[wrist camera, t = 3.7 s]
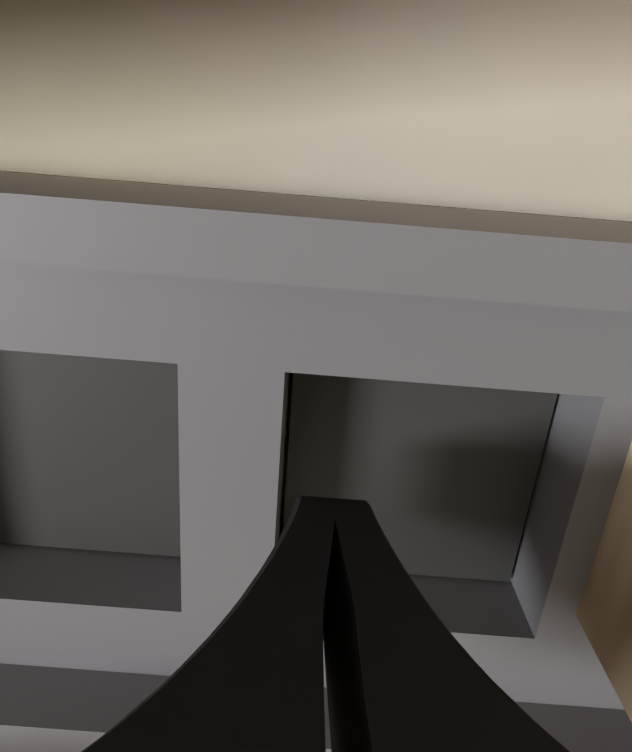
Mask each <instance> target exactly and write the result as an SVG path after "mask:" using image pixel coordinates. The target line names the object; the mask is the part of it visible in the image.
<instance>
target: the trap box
mask: <svg viewBox="0 0 632 752" xmlns="http://www.w3.org/2000/svg"><path fill="white" fill-rule="evenodd" d="M289 373H293V385H292V401H291V416H290V431H289V446H288V462H287V477H286V492H285V508H284V523H283V530H284V528H285V526H286V524H287V521H288V519H289V517H290V515H291V512H292V509H293V506H294V502H295V500H296V499H297V498H299V497H300V496H314V497H327V498H340V499H353V500H366V501H367V502H368V503H369V505H370V506H371V508H372V510H373V512H374V514H375V516H376V519H377V521H378V523H379V525H380V527H381V528H382V530H383V532H384V534H385V536H386V538H387V540H388V541H389V543H390V545H391V547H392V548H393V550H394V552H395V553H396V555H397V557H398V558H399V560H400V562H401V563H402V565H403V566H404V568H405V569H406V571H407V573H408V574H409V576H410V577H411V579H412V581H413V582H414V584H415V585H416V586H417V588H418V589H419V591H420V592H421V594H422V595H423V597H424V598H425V599H426V601H427V602H428V603H429V605H430V606H431V608H432V609H433V610H434V612H435V613H436V614H437V616H438V617H439V618H440V620H441V621H442V622H443V624H444V625H445V626H446V627H447V629H448V630H449V631H450V632H451V634H452V635H453V636H454V637H455V639H456V640H457V641H458V642H459V643H460V644H461V646H462V647H463V648H464V649H465V650H466V651H467V653H468V654H469V655H470V656H471V657H472V658H473V659H474V661H475V662H476V663H477V664H478V665H479V666H480V667H481V668H482V669H483V670H484V671H485V673H486V674H487V675H488V676H489V677H490V678H491V679H492V680H493V681H494V682H495V683H496V684H497V685H498V686H499V687H500V688H501V689H502V690H503V691H504V692H505V693H506V694H507V695H508V696H509V697H510V698H511V699H512V700H514V701H515V702H516V703H517V704H518V705H519V706H520V707H521V708H522V709H523V710H524V711H525V712H526V713H527V714H528V715H529V716H530V717H531V718H532V719H533V720H534V721H535V722H536V723H538V724H539V725H540V726H541V727H542V728H543V729H544V730H545V731H546V732H547V733H549V734H550V735H551V736H552V737H553V738H555V739H556V740H557V741H558V742H559V743H560V744H562V745H563V746H564V747H565V748H566V749H567V750H569V751H570V752H632V722H631V720H630V719H629V717H628V715H627V713H626V711H625V709H624V707H623V705H622V703H621V701H620V699H619V697H618V696H617V694H616V692H615V690H614V688H613V686H612V684H611V682H610V680H609V678H608V676H607V674H606V673H605V671H604V669H603V667H602V665H601V663H600V661H599V659H598V657H597V655H596V653H595V651H594V649H593V648H592V646H591V644H590V642H589V640H588V638H587V636H586V634H585V632H584V630H583V628H582V626H581V625H580V623H579V621H578V619H577V617H576V614H577V611H578V608H579V605H580V601H581V598H582V595H583V592H584V589H585V586H586V583H587V580H588V576H589V573H590V570H591V567H592V564H593V561H594V558H595V554H596V551H597V548H598V545H599V542H600V539H601V536H602V533H603V529H604V526H605V523H606V520H607V517H608V514H609V511H610V508H611V504H612V501H613V498H614V495H615V492H616V489H617V486H618V483H619V479H620V476H621V473H622V470H623V467H624V464H625V461H626V457H627V454H628V451H629V448H630V445H631V442H632V222H625V221H612V220H600V219H588V218H575V217H563V216H551V215H538V214H526V213H514V212H501V211H489V210H476V209H464V208H452V207H439V206H427V205H415V204H402V203H390V202H378V201H365V200H353V199H340V198H328V197H316V196H303V195H291V194H279V193H266V192H254V191H241V190H229V189H217V188H204V187H192V186H180V185H167V184H155V183H143V182H130V181H118V180H105V179H93V178H81V177H68V176H56V175H44V174H31V173H19V172H7V171H0V752H81V751H83V750H84V749H85V748H87V747H88V746H89V745H91V744H92V743H93V742H95V741H96V740H97V739H99V738H100V737H101V736H102V735H104V734H105V733H106V732H107V731H109V730H110V729H111V728H112V727H114V726H115V725H116V724H117V723H118V722H119V721H121V720H122V719H123V718H124V717H125V716H126V715H127V714H129V713H130V712H131V711H132V710H133V709H134V708H135V707H137V706H138V705H139V704H140V703H141V702H142V701H143V700H145V699H146V698H147V697H148V696H149V695H150V694H151V693H153V692H154V691H155V690H156V689H157V688H158V687H159V686H161V685H162V684H163V683H164V682H165V681H166V680H167V679H168V678H169V677H170V676H171V675H172V674H173V673H174V672H175V671H176V670H177V669H178V668H179V667H180V666H181V665H182V664H183V663H184V662H185V661H186V660H187V659H188V658H189V657H190V656H191V655H192V654H193V653H194V652H195V650H196V649H197V648H198V647H199V646H200V645H201V644H202V643H203V642H204V641H205V640H206V639H207V638H208V637H209V636H210V634H211V633H212V632H213V631H214V630H215V629H216V627H217V626H218V625H219V624H220V623H221V622H222V620H223V619H224V618H225V617H226V615H227V614H228V613H229V612H230V611H231V609H232V608H233V607H234V605H235V604H236V603H237V602H238V600H239V599H240V598H241V596H242V595H243V593H244V592H245V591H246V589H247V588H248V586H249V585H250V583H251V582H252V581H253V579H254V578H255V576H256V575H257V574H258V572H259V571H260V569H261V568H262V566H263V565H264V563H265V561H266V560H267V558H268V556H269V555H270V553H271V551H272V550H273V548H274V546H275V544H276V543H277V541H278V539H279V529H280V513H281V497H282V481H283V465H284V449H285V433H286V417H287V401H288V385H289ZM323 663H324V712H325V746H326V752H331V740H330V726H329V712H328V699H327V685H326V671H325V656H324V641H323Z"/></svg>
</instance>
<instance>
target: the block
mask: <svg viewBox="0 0 632 752" xmlns="http://www.w3.org/2000/svg"><path fill="white" fill-rule="evenodd" d="M576 617H577V619H578V621H579V623H580V625H581V626H582V628H583V630H584V632H585V634H586V636H587V638H588V640H589V642H590V644H591V646H592V648H593V649H594V651H595V653H596V655H597V657H598V659H599V661H600V663H601V665H602V667H603V669H604V671H605V673H606V674H607V676H608V678H609V680H610V682H611V684H612V686H613V688H614V690H615V692H616V694H617V696H618V697H619V699H620V701H621V703H622V705H623V707H624V709H625V711H626V713H627V715H628V717H629V719H630V720H631V722H632V442H631V445H630V448H629V451H628V454H627V457H626V461H625V464H624V467H623V470H622V473H621V476H620V479H619V483H618V486H617V489H616V492H615V495H614V498H613V501H612V504H611V508H610V511H609V514H608V517H607V520H606V523H605V526H604V529H603V533H602V536H601V539H600V542H599V545H598V548H597V551H596V554H595V558H594V561H593V564H592V567H591V570H590V573H589V576H588V580H587V583H586V586H585V589H584V592H583V595H582V598H581V601H580V605H579V608H578V611H577V614H576Z"/></svg>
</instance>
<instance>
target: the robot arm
mask: <svg viewBox="0 0 632 752" xmlns="http://www.w3.org/2000/svg"><path fill="white" fill-rule="evenodd" d="M323 641H324V656H325V671H326V685H327V699H328V712H329V726H330V740H331V752H570V751H569V750H567V749H566V748H565V747H564V746H563V745H562V744H560V743H559V742H558V741H557V740H556V739H555V738H553V737H552V736H551V735H550V734H549V733H547V732H546V731H545V730H544V729H543V728H542V727H541V726H540V725H539V724H538V723H536V722H535V721H534V720H533V719H532V718H531V717H530V716H529V715H528V714H527V713H526V712H525V711H524V710H523V709H522V708H521V707H520V706H519V705H518V704H517V703H516V702H515V701H514V700H512V699H511V698H510V697H509V696H508V695H507V694H506V693H505V692H504V691H503V690H502V689H501V688H500V687H499V686H498V685H497V684H496V683H495V682H494V681H493V680H492V679H491V678H490V677H489V676H488V675H487V674H486V673H485V671H484V670H483V669H482V668H481V667H480V666H479V665H478V664H477V663H476V662H475V661H474V659H473V658H472V657H471V656H470V655H469V654H468V653H467V651H466V650H465V649H464V648H463V647H462V646H461V644H460V643H459V642H458V641H457V640H456V639H455V637H454V636H453V635H452V634H451V632H450V631H449V630H448V629H447V627H446V626H445V625H444V624H443V622H442V621H441V620H440V618H439V617H438V616H437V614H436V613H435V612H434V610H433V609H432V608H431V606H430V605H429V603H428V602H427V601H426V599H425V598H424V597H423V595H422V594H421V592H420V591H419V589H418V588H417V586H416V585H415V584H414V582H413V581H412V579H411V577H410V576H409V574H408V573H407V571H406V569H405V568H404V566H403V565H402V563H401V562H400V560H399V558H398V557H397V555H396V553H395V552H394V550H393V548H392V547H391V545H390V543H389V541H388V540H387V538H386V536H385V534H384V532H383V530H382V528H381V527H380V525H379V523H378V521H377V519H376V516H375V514H374V512H373V510H372V508H371V506H370V505H369V503H368V502H367V501H366V500H353V499H340V498H327V497H314V496H300V497H299V498H297V499H296V500H295V502H294V506H293V509H292V512H291V515H290V517H289V519H288V521H287V524H286V526H285V528H284V530H283V532H282V534H281V536H280V538H279V539H278V541H277V543H276V544H275V546H274V548H273V550H272V551H271V553H270V555H269V556H268V558H267V560H266V561H265V563H264V565H263V566H262V568H261V569H260V571H259V572H258V574H257V575H256V576H255V578H254V579H253V581H252V582H251V583H250V585H249V586H248V588H247V589H246V591H245V592H244V593H243V595H242V596H241V598H240V599H239V600H238V602H237V603H236V604H235V605H234V607H233V608H232V609H231V611H230V612H229V613H228V614H227V615H226V617H225V618H224V619H223V620H222V622H221V623H220V624H219V625H218V626H217V627H216V629H215V630H214V631H213V632H212V633H211V634H210V636H209V637H208V638H207V639H206V640H205V641H204V642H203V643H202V644H201V645H200V646H199V647H198V648H197V649H196V650H195V652H194V653H193V654H192V655H191V656H190V657H189V658H188V659H187V660H186V661H185V662H184V663H183V664H182V665H181V666H180V667H179V668H178V669H177V670H176V671H175V672H174V673H173V674H172V675H171V676H170V677H169V678H168V679H167V680H166V681H165V682H164V683H163V684H162V685H161V686H159V687H158V688H157V689H156V690H155V691H154V692H153V693H151V694H150V695H149V696H148V697H147V698H146V699H145V700H143V701H142V702H141V703H140V704H139V705H138V706H137V707H135V708H134V709H133V710H132V711H131V712H130V713H129V714H127V715H126V716H125V717H124V718H123V719H122V720H121V721H119V722H118V723H117V724H116V725H115V726H114V727H112V728H111V729H110V730H109V731H107V732H106V733H105V734H104V735H102V736H101V737H100V738H99V739H97V740H96V741H95V742H93V743H92V744H91V745H89V746H88V747H87V748H85V749H84V750H83V751H81V752H326V746H325V712H324V663H323Z"/></svg>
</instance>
